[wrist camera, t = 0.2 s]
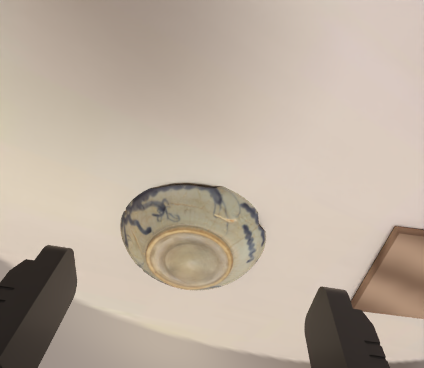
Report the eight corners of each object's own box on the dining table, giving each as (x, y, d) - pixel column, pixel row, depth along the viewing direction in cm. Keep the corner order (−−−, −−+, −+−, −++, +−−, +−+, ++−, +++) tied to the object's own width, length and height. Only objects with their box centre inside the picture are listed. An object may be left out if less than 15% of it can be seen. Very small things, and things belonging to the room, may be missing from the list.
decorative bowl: (297, 228, 33) (171, 146, 28) (303, 256, 30) (163, 169, 25) (208, 297, 40) (97, 241, 36) (206, 325, 37) (84, 268, 33)
